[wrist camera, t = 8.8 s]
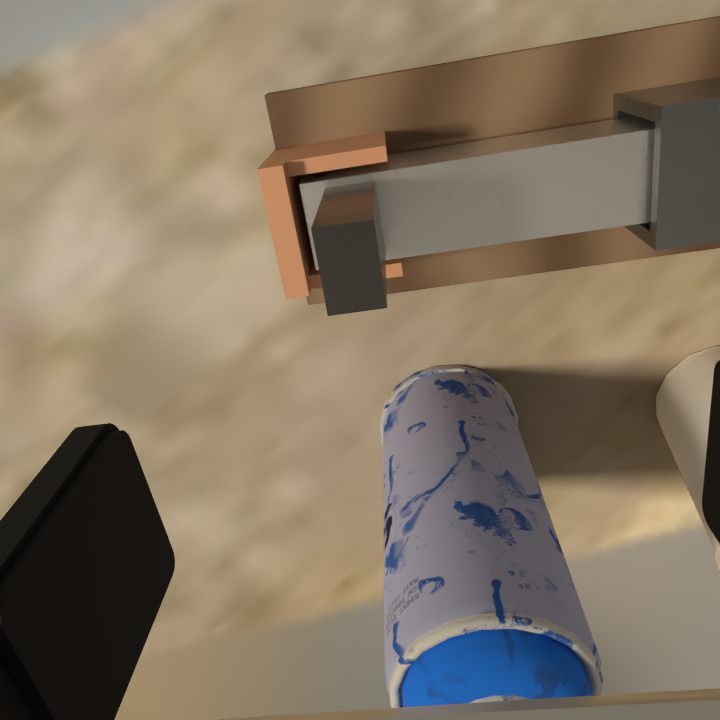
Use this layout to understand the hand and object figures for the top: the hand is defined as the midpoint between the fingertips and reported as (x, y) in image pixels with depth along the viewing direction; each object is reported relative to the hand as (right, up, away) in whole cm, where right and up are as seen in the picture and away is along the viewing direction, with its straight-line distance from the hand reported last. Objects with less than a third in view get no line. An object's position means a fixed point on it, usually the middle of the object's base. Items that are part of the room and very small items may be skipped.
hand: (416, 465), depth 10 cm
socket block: (-2, +9, +20) cm, 22 cm away
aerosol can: (+4, -2, +27) cm, 27 cm away
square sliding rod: (+5, +10, +19) cm, 21 cm away
